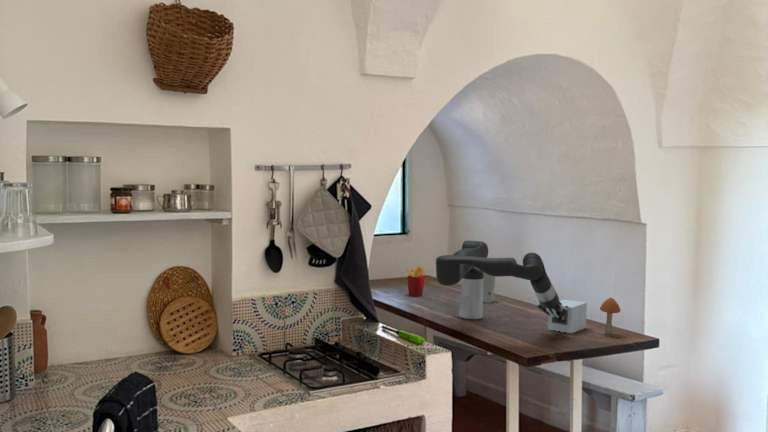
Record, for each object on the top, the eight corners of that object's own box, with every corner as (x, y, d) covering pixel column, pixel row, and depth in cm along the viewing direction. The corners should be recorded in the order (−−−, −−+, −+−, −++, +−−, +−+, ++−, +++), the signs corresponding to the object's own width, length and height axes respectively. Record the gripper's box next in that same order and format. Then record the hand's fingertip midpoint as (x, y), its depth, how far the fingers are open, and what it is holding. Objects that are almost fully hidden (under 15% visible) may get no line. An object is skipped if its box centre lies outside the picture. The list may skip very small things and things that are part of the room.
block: (570, 333, 302) (571, 307, 301) (547, 329, 309) (548, 304, 308) (585, 327, 314) (586, 302, 313) (563, 324, 320) (564, 299, 319)
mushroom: (616, 337, 297) (618, 299, 296) (596, 335, 301) (597, 297, 300) (621, 334, 304) (623, 296, 303) (601, 331, 308) (603, 294, 307)
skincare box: (473, 301, 365) (474, 269, 363) (477, 299, 371) (478, 267, 370) (491, 303, 361) (492, 270, 360) (494, 301, 368) (495, 268, 367)
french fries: (406, 295, 377) (406, 265, 375) (414, 293, 383) (415, 264, 382) (421, 298, 372) (422, 267, 371) (430, 295, 379) (430, 265, 377)
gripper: (527, 299, 296) (541, 325, 307) (558, 303, 288) (571, 330, 298) (534, 284, 300) (547, 310, 310) (565, 288, 292) (577, 315, 302)
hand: (559, 320), depth 304 cm, fingers closed
